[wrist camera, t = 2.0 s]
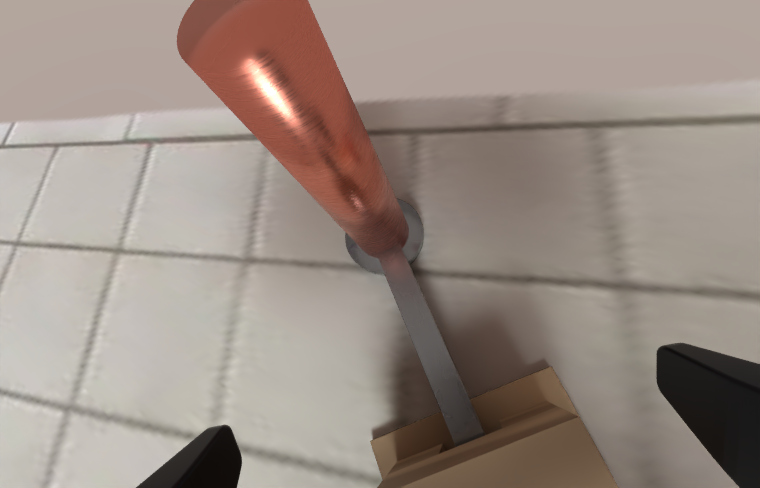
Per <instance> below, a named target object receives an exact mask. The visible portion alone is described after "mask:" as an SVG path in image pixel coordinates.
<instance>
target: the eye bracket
mask: <svg viewBox="0 0 760 488" xmlns="http://www.w3.org/2000/svg"><path fill="white" fill-rule="evenodd" d="M470 400H471V402H472V405H473V407H474V409H475V411H476V413H477V416H478V418H479V420H480V422H481V425H482V427H483V429H484V431H485V433H486V435H485V436H482V437H480V438H477V439H475V440H472V441H470V442H467V443H465V444H463V445H460V446H458V447H456V446H455V443H454V441H453V438H452V436H451V434H450V431H449V429H448V426H447V424H446V422H445V419H444V417H443V414H442V412H438V413H436V414H434V415H431V416H429V417H426V418H424V419H421V420H419V421H417V422H414V423H412V424H409V425H407V426H405V427H402V428H400V429H397V430H395V431H392V432H390V433H388V434H385V435H383V436H380V437H378V438H375V439H373V440H372V441H370V442H371V445H372V448H373V452H374V455H375V458H376V461H377V464H378V467H379V470H380V473H381V476H382V479H383V481H382V482H381V483H380V485H379V486H378V487H377V488H618V486H617V484H616V482H615V480H614V479H613V476H612V474H611V473H610V471H609V469H608V467H607V465H606V464H605V462H604V460H603V458H602V456H601V455H600V453H599V451H598V449H597V447H596V446H595V444H594V442H593V440H592V438H591V437H590V435H589V433H588V431H587V429H586V428H585V426H584V424H583V422H582V420H581V419H580V417H579V415H578V413H577V411H576V410H575V408H574V406H573V404H572V402H571V401H570V399H569V397H568V395H567V393H566V392H565V390H564V388H563V386H562V384H561V383H560V381H559V379H558V377H557V375H556V374H555V372H554V370H553V368H552V367H547V368H545V369H543V370H540V371H538V372H535V373H533V374H530V375H528V376H526V377H523V378H521V379H518V380H516V381H513V382H511V383H509V384H506V385H504V386H501V387H499V388H497V389H494V390H492V391H489V392H487V393H484V394H482V395H480V396H477V397H475V398H472V399H470Z"/></svg>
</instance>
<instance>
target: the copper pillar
mask: <svg viewBox="0 0 760 488" xmlns="http://www.w3.org/2000/svg"><path fill="white" fill-rule="evenodd" d="M177 46H178V51H179V53H180V55H181V57H182V59H183V60H184V61H185V62H186V63H187V64H188V65H189V66H190V67H191V68H192V70H193V71H194V72H195V73H196V74H197V75H198V76H199V77H200V78H201V79H202V80H203V81H204V82H205V83H206V84H207V85H208V87H209V88H210V89H211V90H212V91H213V92H214V93H215V94H216V95H217V96H218V97H219V98H220V99H221V100H222V101H223V102H224V104H225V105H226V106H227V107H228V108H229V109H230V110H231V111H232V112H233V113H234V114H235V115H236V116H237V117H238V118H239V119H240V120H241V122H242V123H243V124H244V125H245V126H246V127H247V128H248V129H249V130H250V131H251V132H252V133H253V134H254V135H255V136H256V137H257V139H258V140H259V141H260V142H261V143H262V144H263V145H264V146H265V147H266V148H267V149H268V150H269V151H270V152H271V153H272V154H273V155H274V157H275V158H276V159H277V160H278V161H279V162H280V163H281V164H282V165H283V166H284V167H285V168H286V169H287V170H288V171H289V172H290V174H291V175H292V176H293V177H294V178H295V179H296V180H297V181H298V182H299V183H300V184H301V185H302V186H303V187H304V188H305V189H306V190H307V192H308V193H309V194H310V195H311V196H312V197H313V198H314V199H315V200H316V201H317V202H318V203H319V204H320V205H321V206H322V207H323V209H324V210H325V211H326V212H327V213H328V214H329V215H330V216H331V217H332V218H333V219H334V220H335V221H336V222H337V223H338V224H339V225H340V227H341V228H342V229H343V230H344V231H345V232H346V235H345V240H346V246H347V249H348V252H349V254H350V255H351V257H352V258H353V260H354V261H355V262H356V263H357V264H359V265H360V266H361V267H362V268H364V269H365V270H367V271H369V272H372V273H375V274H385V276H386V278H387V281H388V283H389V286H390V288H391V291H392V293H393V295H394V298H395V300H396V303H397V305H398V308H399V310H400V312H401V315H402V317H403V320H404V322H405V325H406V327H407V329H408V332H409V334H410V337H411V339H412V342H413V344H414V346H415V349H416V351H417V354H418V356H419V358H420V361H421V363H422V366H423V368H424V371H425V373H426V375H427V378H428V380H429V383H430V385H431V388H432V390H433V392H434V395H435V397H436V400H437V402H438V405H439V407H440V409H441V412H442V414H443V417H444V419H445V422H446V424H447V426H448V429H449V431H450V434H451V436H452V438H453V441H454V443H455V446H456V447H458V446H460V445H463V444H465V443H467V442H470V441H472V440H475V439H477V438H480V437H482V436H485V435H486V433H485V431H484V429H483V427H482V425H481V422H480V420H479V418H478V416H477V413H476V411H475V409H474V407H473V405H472V402H471V400H470V398H469V396H468V393H467V391H466V389H465V387H464V384H463V382H462V380H461V378H460V376H459V373H458V371H457V369H456V367H455V364H454V362H453V360H452V358H451V355H450V353H449V351H448V349H447V347H446V344H445V342H444V340H443V338H442V335H441V333H440V331H439V329H438V327H437V324H436V322H435V320H434V318H433V315H432V313H431V311H430V309H429V306H428V304H427V302H426V300H425V298H424V295H423V293H422V291H421V289H420V286H419V284H418V282H417V280H416V277H415V275H414V273H413V271H412V269H411V266H410V264H411V263H412V262H413V261H414V260H415V259H416V257H417V256H418V254H419V252H420V250H421V248H422V245H423V240H424V231H423V226H422V223H421V220H420V218H419V216H418V214H417V212H416V211H415V210H414V208H413V207H412V206H410V205H409V204H408V203H406V202H404V201H402V200H400V199H397V198H396V197H395V194H394V192H393V190H392V188H391V185H390V183H389V181H388V179H387V176H386V174H385V172H384V170H383V168H382V165H381V163H380V161H379V159H378V156H377V154H376V152H375V150H374V147H373V145H372V143H371V141H370V138H369V136H368V134H367V132H366V129H365V127H364V125H363V123H362V121H361V118H360V116H359V114H358V112H357V109H356V107H355V105H354V103H353V100H352V98H351V96H350V94H349V92H348V89H347V87H346V85H345V83H344V81H343V78H342V76H341V74H340V71H339V69H338V67H337V65H336V62H335V60H334V58H333V56H332V53H331V51H330V49H329V47H328V45H327V42H326V40H325V38H324V36H323V33H322V31H321V29H320V27H319V24H318V22H317V20H316V18H315V15H314V13H313V11H312V9H311V7H310V4H309V2H308V0H194V2H193V3H192V4H191V6H190V7H189V8H188V10H187V12H186V13H185V15H184V17H183V19H182V21H181V24H180V26H179V29H178V35H177Z"/></svg>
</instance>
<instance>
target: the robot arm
mask: <svg viewBox="0 0 760 488" xmlns="http://www.w3.org/2000/svg"><path fill="white" fill-rule="evenodd" d="M657 384H658V387H659V389H660V391H661V393H662V394H663V396H664V397H665V398H666V399H667V401H668V402H669V403H670V404H671V406H672V407H673V408H674V409H675V411H676V412H677V413H678V414H679V416H680V417H681V418H682V419H683V421H684V422H685V423H686V424H687V426H688V427H689V428H690V429H691V431H692V432H693V433H694V434H695V436H696V437H697V438H698V439H699V441H700V442H701V443H702V444H703V446H704V447H705V448H706V449H707V451H708V452H709V453H710V454H711V456H712V457H713V458H714V459H715V460H716V461H717V463H718V464H719V465H720V466H721V467H722V469H723V470H724V471H725V472H726V473H727V474H728V475H729V476H730V477H731V479H732V480H733V481H734V482H735V483H736V484H737V485H738V486H739V487H740V488H760V364H757V363H754V362H750V361H746V360H743V359H739V358H735V357H732V356H728V355H725V354H721V353H717V352H714V351H710V350H707V349H703V348H699V347H696V346H692V345H689V344H685V343H675V344H669V345H664V346H661V347H659V348H658V350H657ZM241 466H242V457H241V453H240V450H239V447H238V445H237V442H236V440H235V437H234V434H233V432H232V430H231V428H230V427H229V426H228V425H221V426H215V427H210V428H208V429H206V430H205V431H204V432H203V433H201V434H200V435H199V436H198V437H197V438H195V439H194V440H193V441H192V442H190V443H189V444H188V445H187V446H186V447H184V448H183V449H182V450H181V451H180V452H178V453H177V454H176V455H175V456H174V457H172V458H171V459H170V460H169V461H168V462H166V463H165V464H164V465H163V466H162V467H160V468H159V469H158V470H157V471H156V472H154V473H153V474H152V475H151V476H149V477H148V478H147V479H146V480H145V481H143V482H142V483H141V484H140V485H139V486H137V487H136V488H237V484H238V480H239V476H240V471H241Z"/></svg>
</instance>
